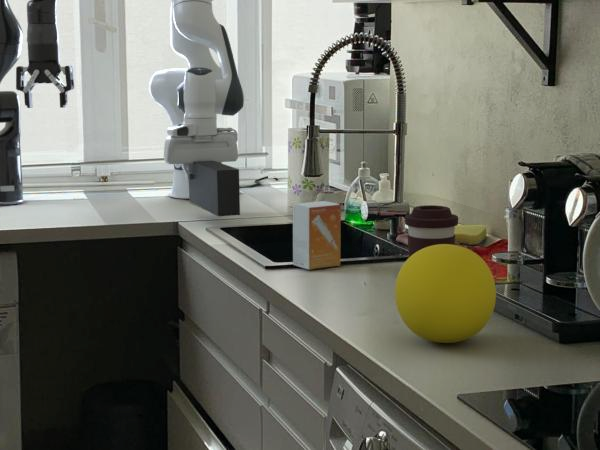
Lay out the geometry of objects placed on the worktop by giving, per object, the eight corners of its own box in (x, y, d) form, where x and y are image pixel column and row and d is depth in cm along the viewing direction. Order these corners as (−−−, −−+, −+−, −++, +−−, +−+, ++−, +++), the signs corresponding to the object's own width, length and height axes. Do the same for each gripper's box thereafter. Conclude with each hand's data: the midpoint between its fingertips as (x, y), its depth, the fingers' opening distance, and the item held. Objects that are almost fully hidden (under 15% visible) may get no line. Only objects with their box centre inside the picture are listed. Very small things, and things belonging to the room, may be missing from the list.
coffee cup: (400, 280, 202) (400, 204, 200) (450, 279, 203) (451, 203, 201) (409, 292, 193) (410, 212, 190) (462, 291, 193) (463, 211, 191)
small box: (309, 270, 213) (308, 207, 211) (292, 265, 218) (291, 203, 216) (341, 265, 217) (341, 203, 215) (324, 260, 222) (323, 200, 220)
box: (240, 214, 264) (239, 169, 262) (218, 216, 262) (216, 170, 260) (209, 200, 290) (208, 158, 288) (189, 202, 288) (187, 159, 286)
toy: (462, 323, 171) (464, 233, 168) (512, 348, 157) (515, 250, 154) (379, 333, 165) (379, 240, 163) (423, 359, 151) (424, 258, 149)
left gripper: (75, 42, 264) (78, 106, 267) (20, 42, 265) (24, 107, 268) (66, 42, 256) (69, 108, 259) (9, 42, 258) (13, 108, 260)
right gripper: (233, 126, 289) (234, 176, 291) (161, 128, 282) (162, 179, 284) (241, 128, 283) (241, 178, 285) (167, 130, 276) (168, 182, 278)
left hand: (46, 107), depth 263 cm, fingers open, 8 cm apart
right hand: (201, 179), depth 285 cm, fingers closed on box, 6 cm apart
